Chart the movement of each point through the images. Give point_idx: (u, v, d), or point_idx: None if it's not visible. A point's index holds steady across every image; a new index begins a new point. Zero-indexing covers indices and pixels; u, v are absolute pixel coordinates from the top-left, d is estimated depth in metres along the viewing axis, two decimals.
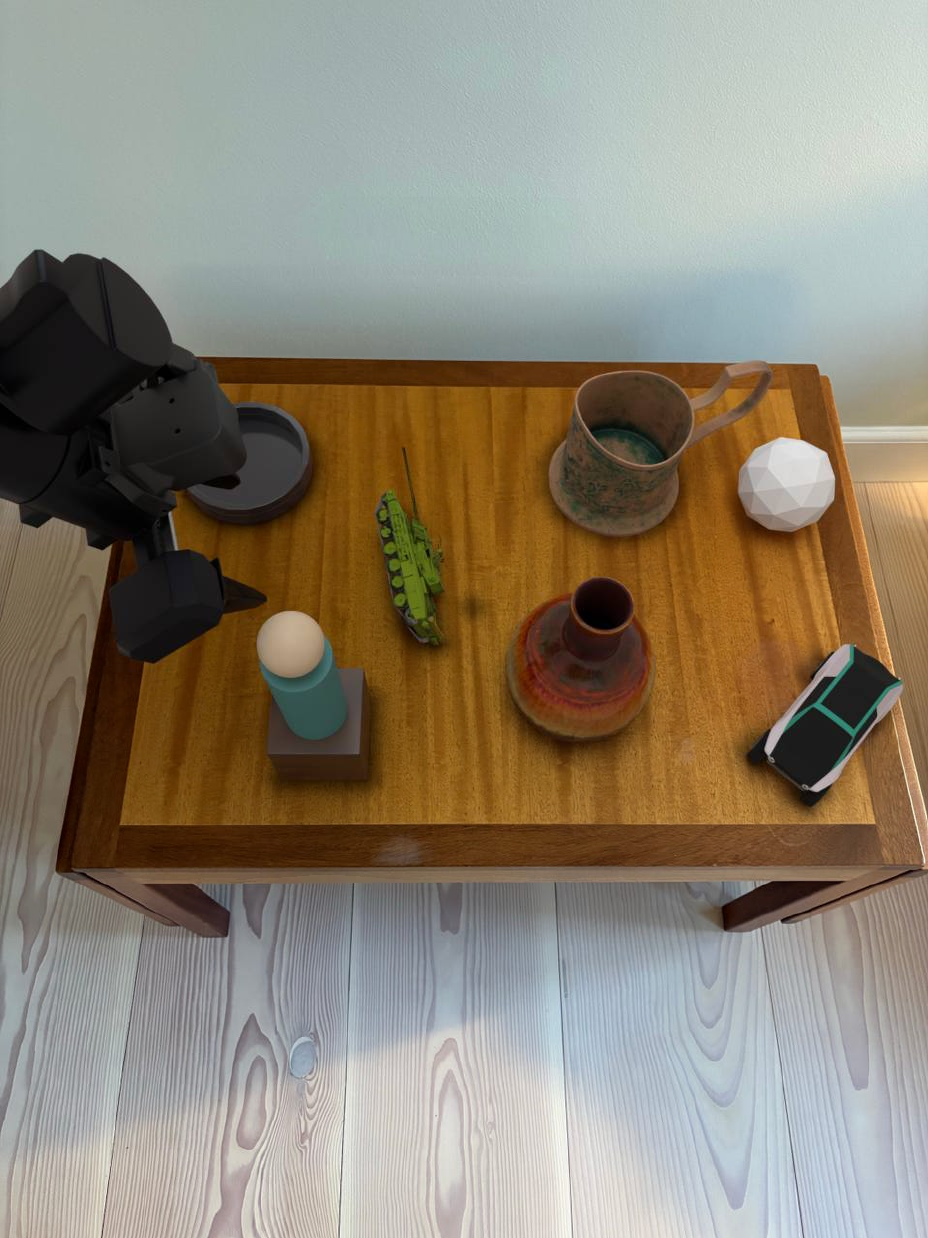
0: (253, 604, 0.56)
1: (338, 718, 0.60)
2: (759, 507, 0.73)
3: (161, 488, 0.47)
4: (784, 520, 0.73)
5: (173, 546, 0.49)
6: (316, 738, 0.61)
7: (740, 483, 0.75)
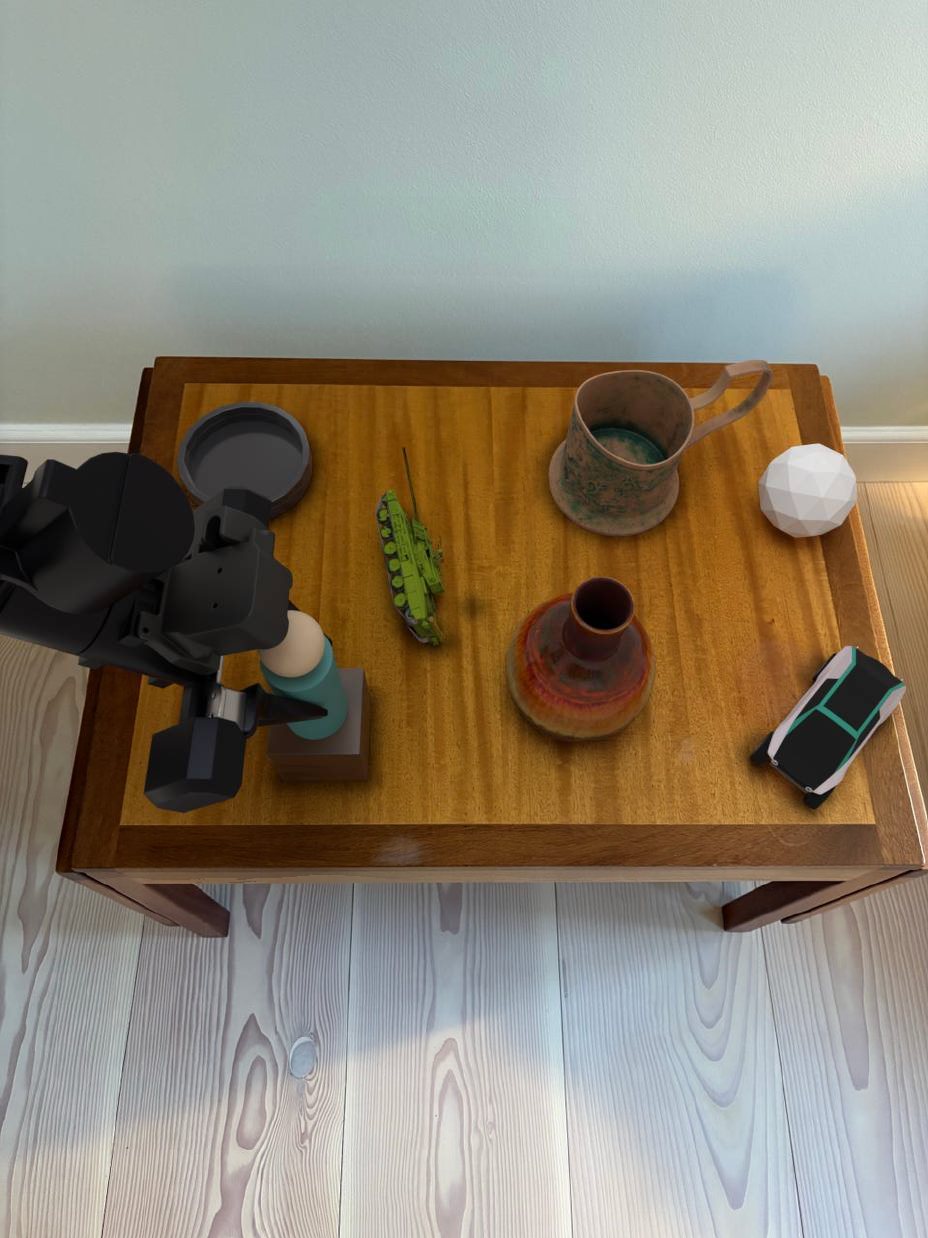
0: (311, 718, 0.55)
1: (338, 718, 0.60)
2: (787, 507, 0.73)
3: (198, 655, 0.46)
4: (804, 527, 0.73)
5: None
6: (316, 738, 0.61)
7: (771, 477, 0.74)
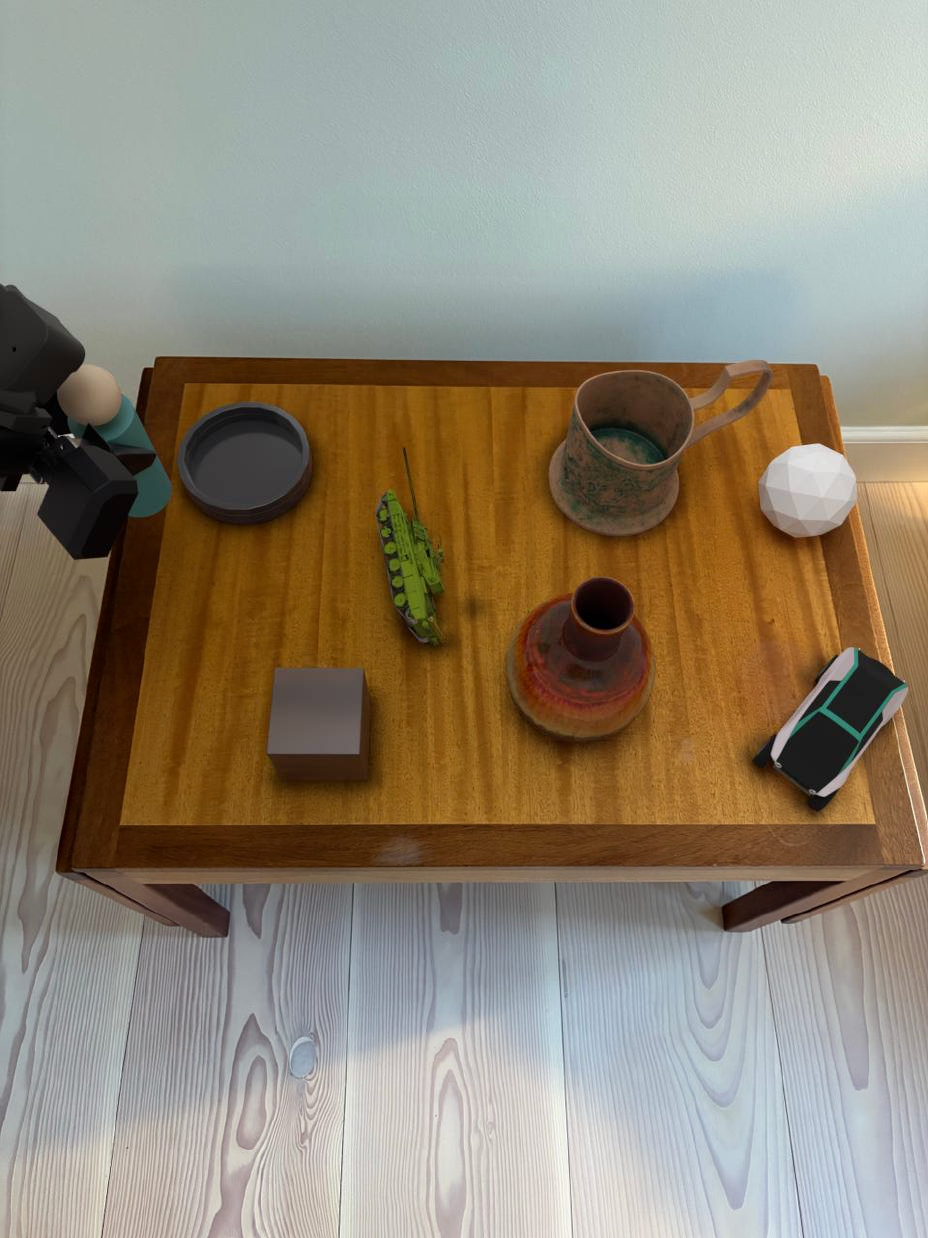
0: (146, 461, 0.62)
1: (165, 476, 0.67)
2: (787, 507, 0.73)
3: (29, 405, 0.52)
4: (804, 527, 0.73)
5: (47, 430, 0.55)
6: (160, 507, 0.68)
7: (771, 477, 0.74)
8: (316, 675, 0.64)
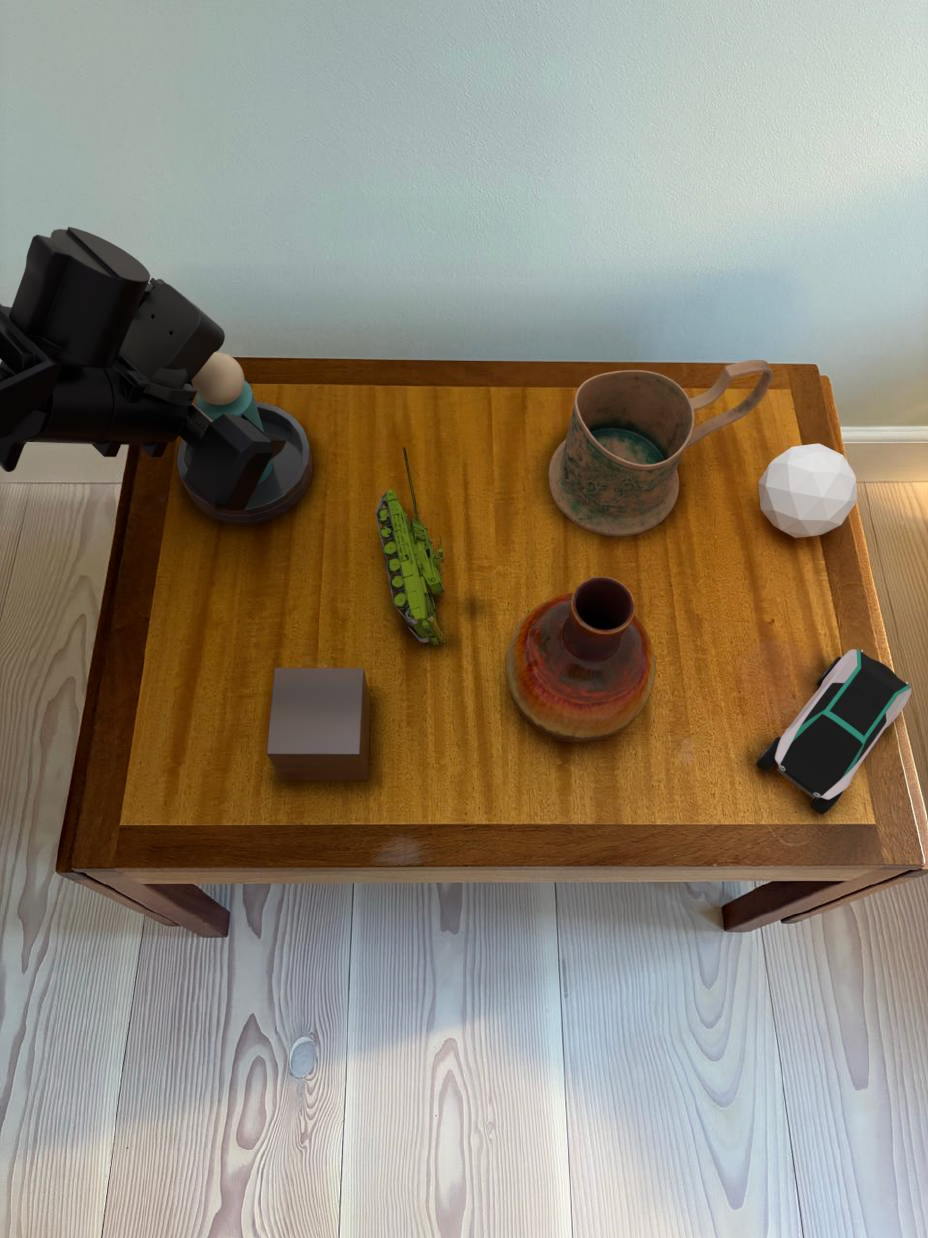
0: (278, 448, 0.71)
1: None
2: (787, 507, 0.73)
3: (182, 380, 0.61)
4: (804, 527, 0.73)
5: (209, 421, 0.64)
6: (264, 477, 0.78)
7: (771, 477, 0.74)
8: (316, 675, 0.64)
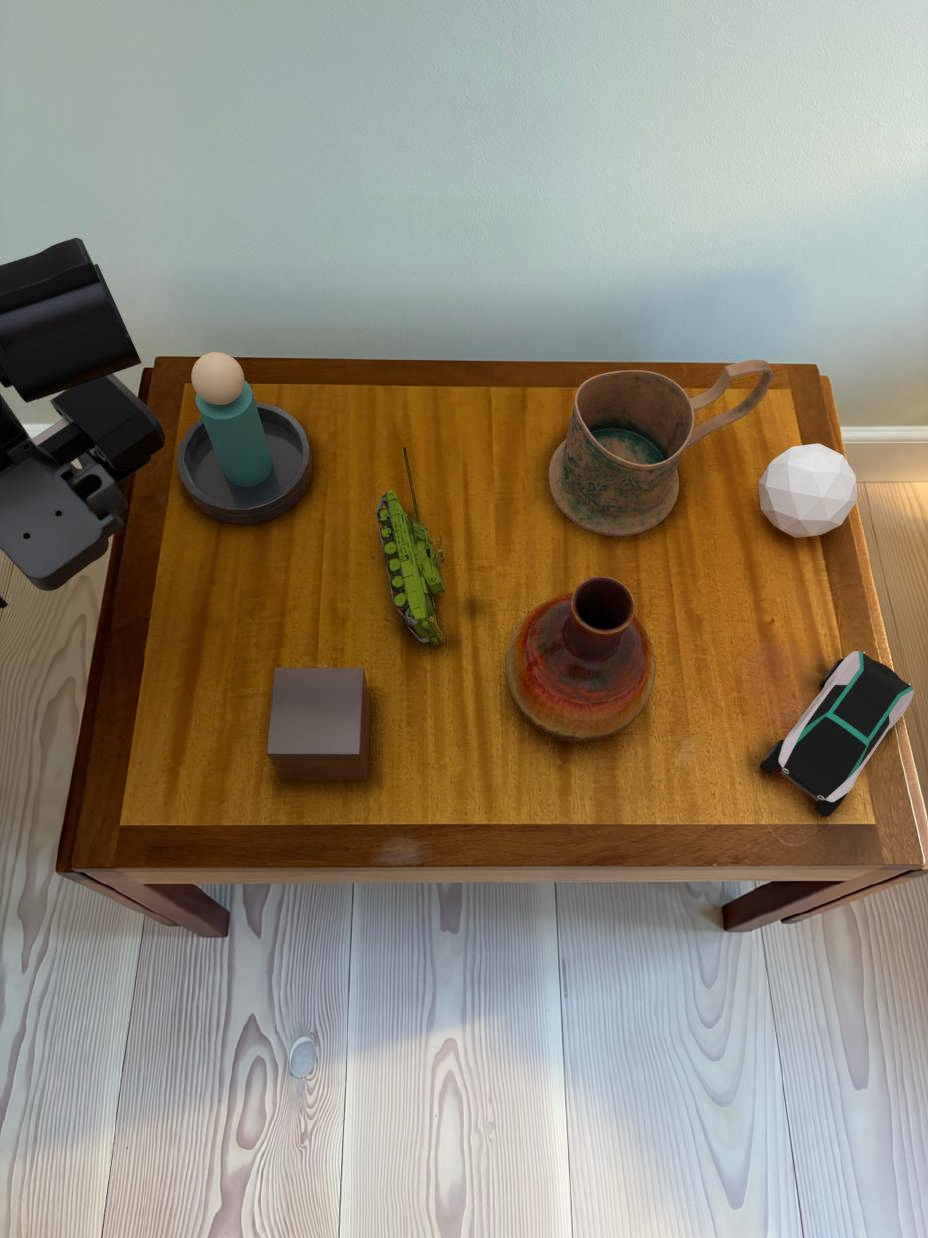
0: None
1: (269, 450, 0.77)
2: (787, 507, 0.73)
3: None
4: (804, 527, 0.73)
5: None
6: (264, 477, 0.78)
7: (771, 477, 0.74)
8: (316, 675, 0.64)
